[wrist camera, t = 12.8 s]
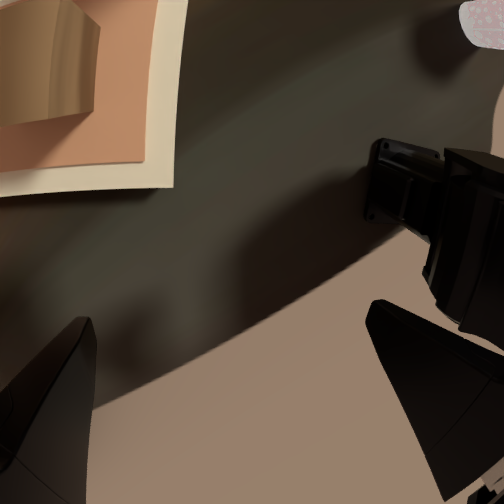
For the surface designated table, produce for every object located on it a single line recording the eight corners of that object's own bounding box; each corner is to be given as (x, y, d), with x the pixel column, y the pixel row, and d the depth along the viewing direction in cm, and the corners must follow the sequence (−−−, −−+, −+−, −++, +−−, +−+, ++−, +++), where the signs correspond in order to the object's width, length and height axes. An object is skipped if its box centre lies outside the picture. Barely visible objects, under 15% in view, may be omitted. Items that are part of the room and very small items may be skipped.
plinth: (192, -24, 12) (195, -44, 10) (173, 175, 18) (173, 189, 16) (2, 4, 9) (-20, -5, 7) (-6, 186, 15) (-29, 201, 12)
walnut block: (100, 27, 11) (62, -8, 6) (93, 111, 13) (48, 119, 8) (24, 41, 10) (-38, 25, 4) (18, 120, 12) (-47, 138, 6)
